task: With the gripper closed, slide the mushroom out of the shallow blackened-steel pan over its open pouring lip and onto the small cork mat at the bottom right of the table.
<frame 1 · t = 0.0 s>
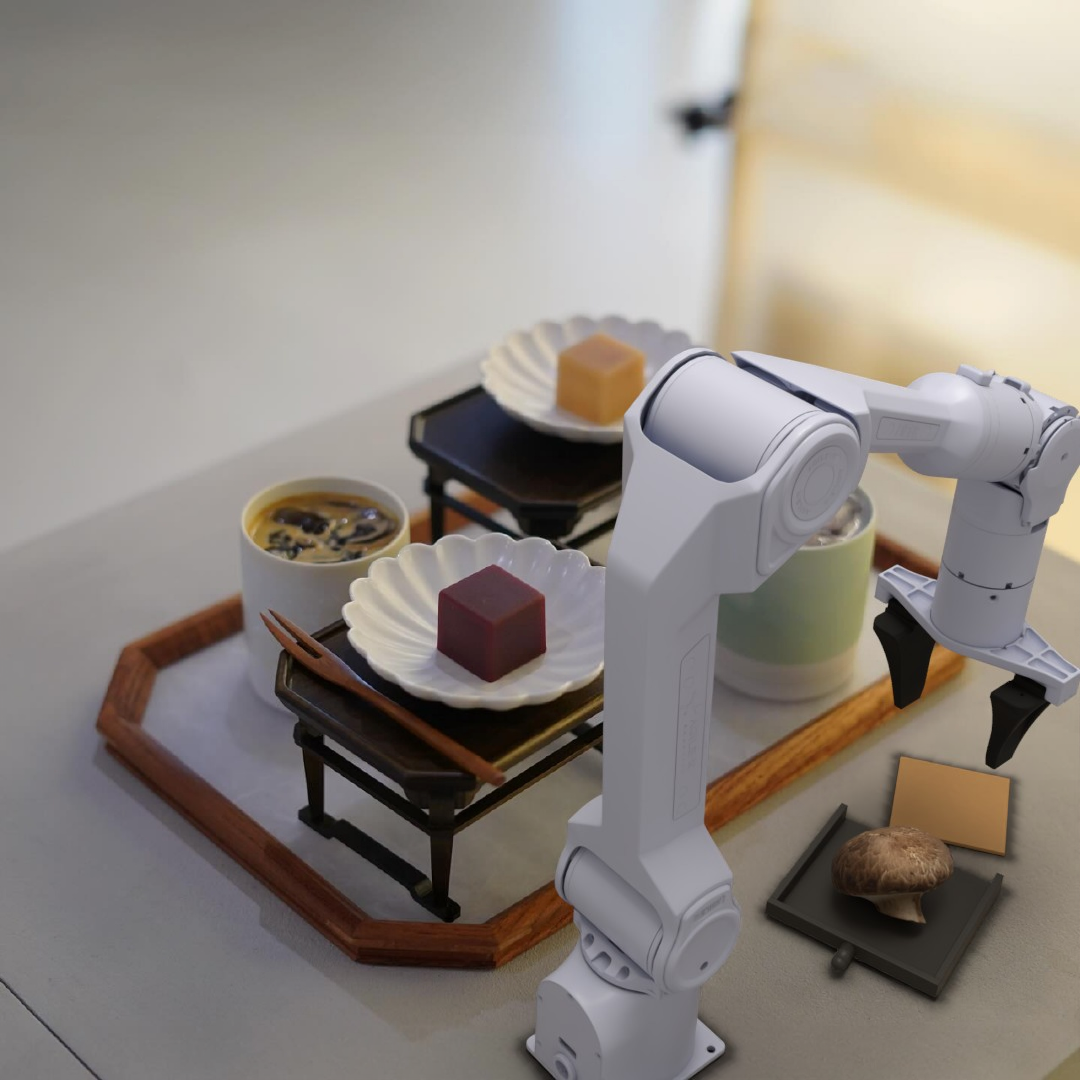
hand: (951, 730, 102), 10 cm above the table, tool pointing down, fingers open, 7 cm apart
mushroom: (885, 900, 102), resting on pan
pan: (884, 902, 102), on the table
mat: (950, 805, 110), on the table
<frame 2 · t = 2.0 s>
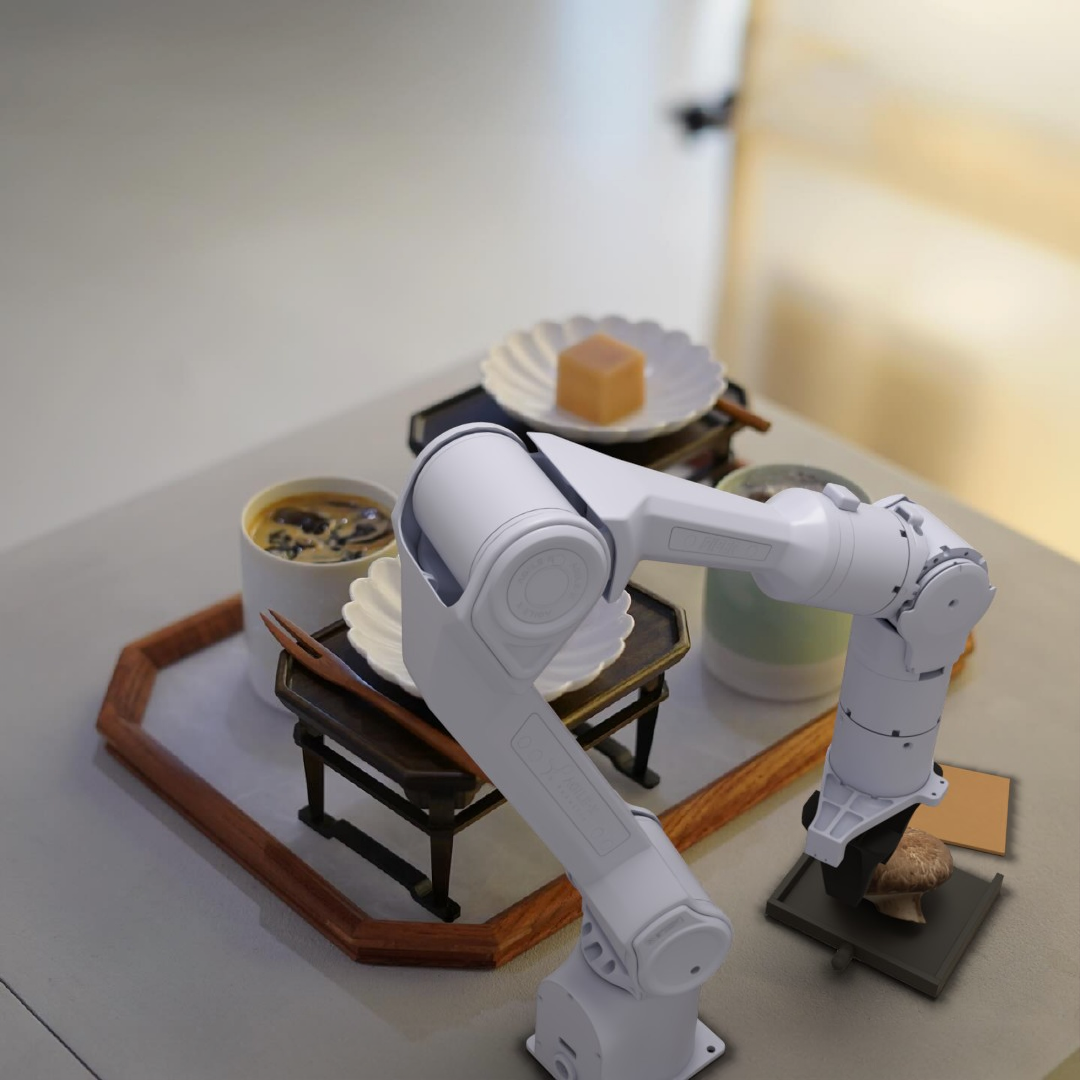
hand: (857, 875, 93), 8 cm above the table, tool pointing down, fingers open, 4 cm apart
nothing on the table moved.
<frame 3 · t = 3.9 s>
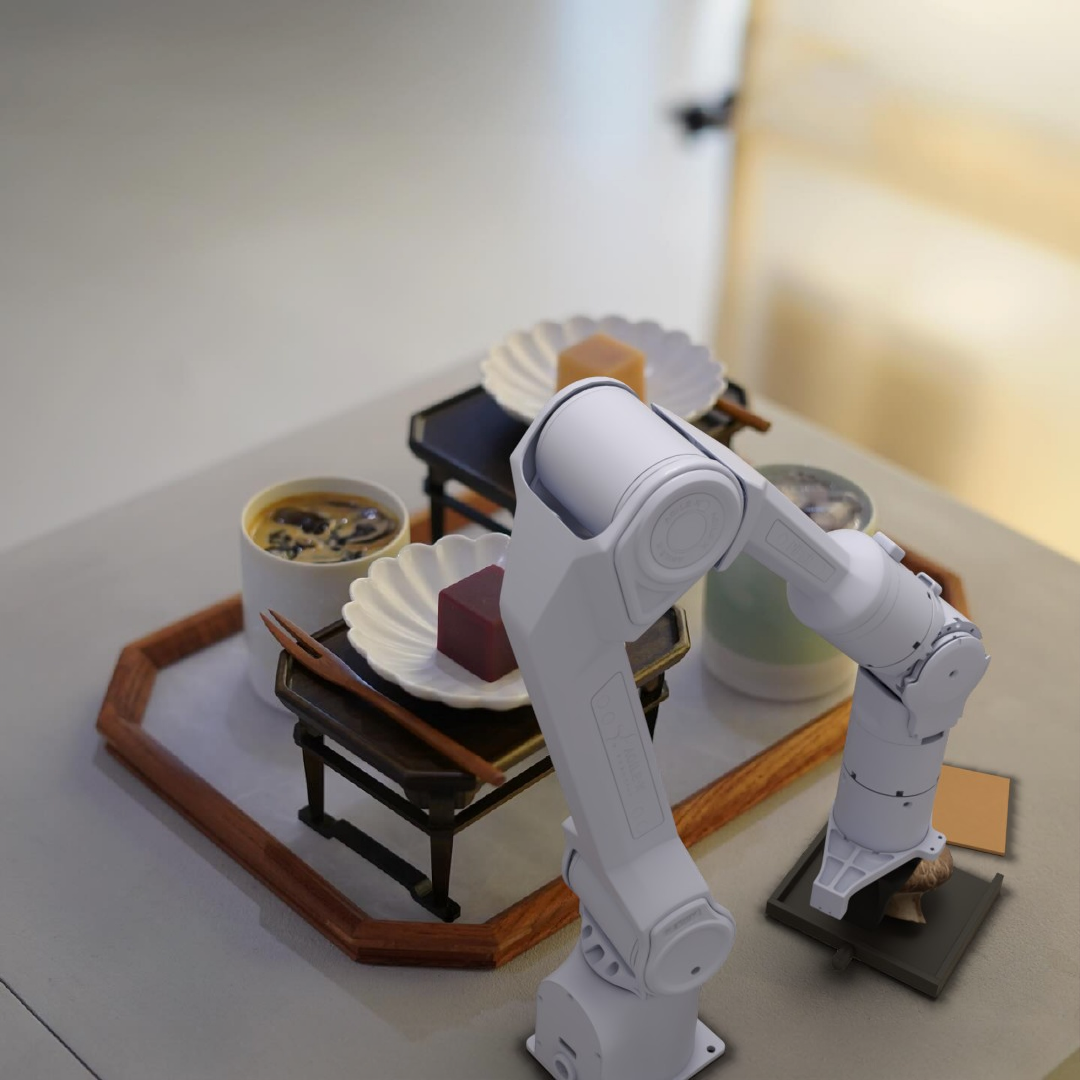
hand: (860, 922, 98), 2 cm above the table, tool pointing down, fingers closed
mushroom: (885, 900, 102), resting on pan, touching gripper
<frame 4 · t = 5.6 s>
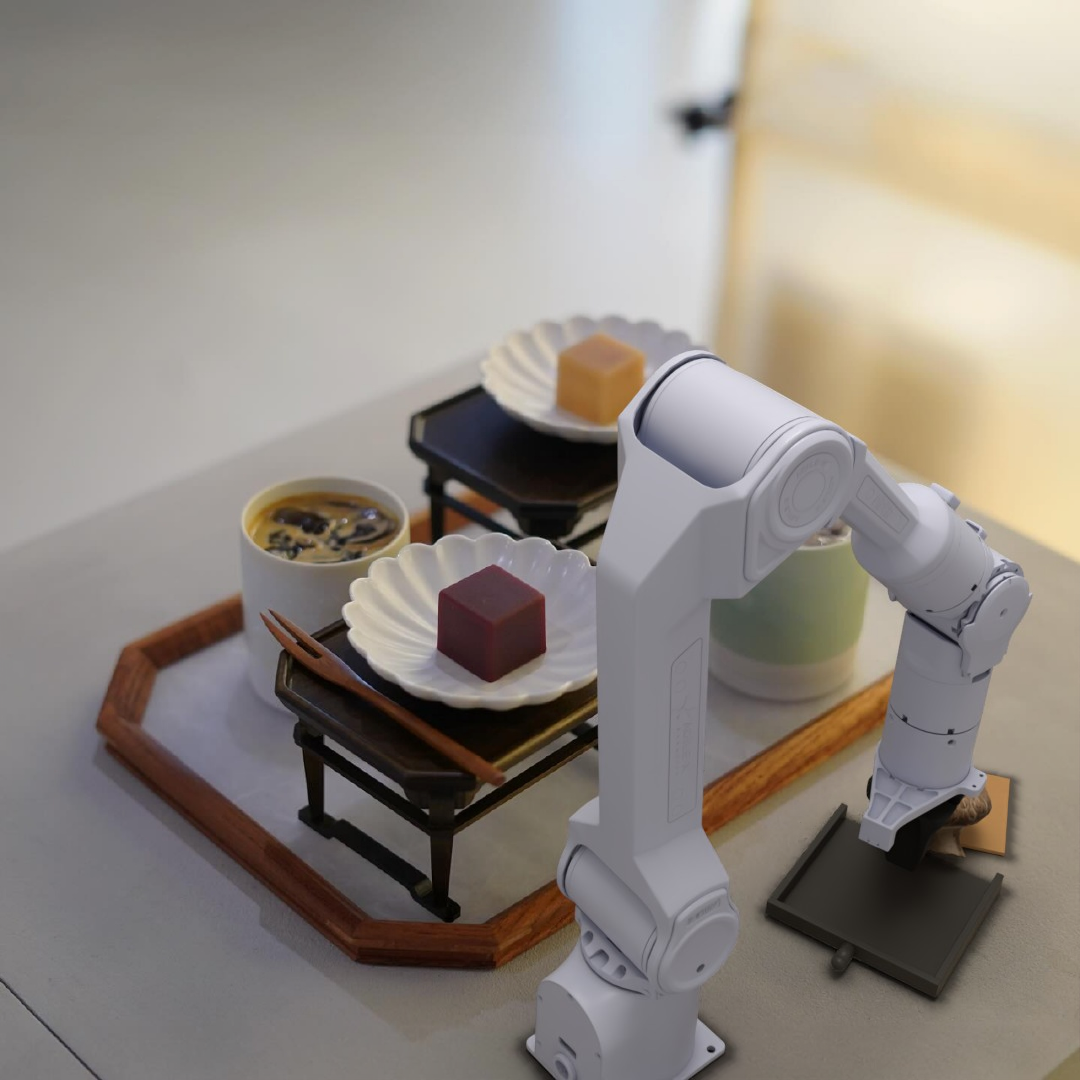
hand: (902, 860, 103), 2 cm above the table, tool pointing down, fingers closed, pressing on mushroom
mushroom: (925, 838, 107), on the table, touching gripper, mat
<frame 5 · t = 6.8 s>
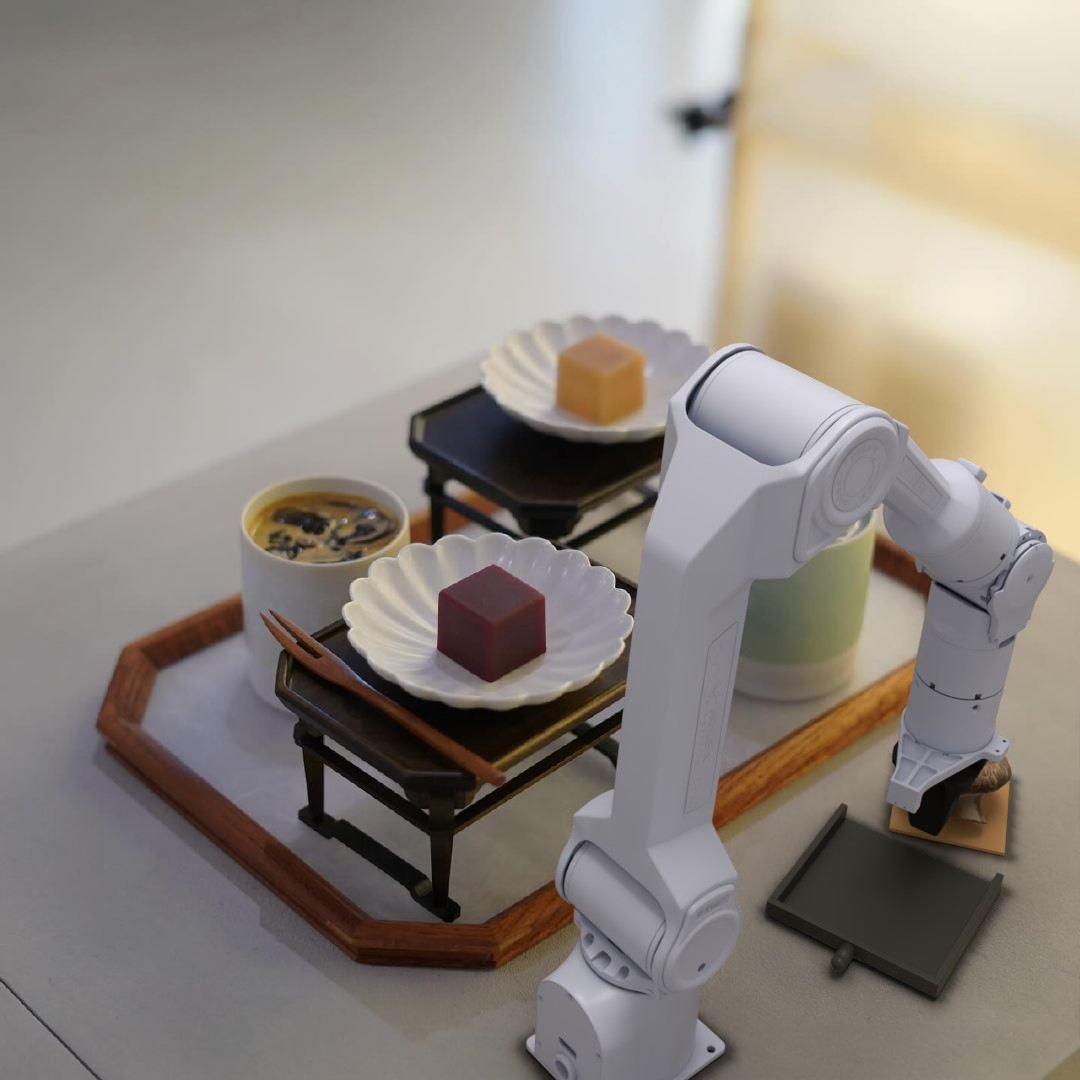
hand: (926, 826, 105), 2 cm above the table, tool pointing down, fingers closed
mushroom: (946, 805, 110), resting on mat, touching gripper
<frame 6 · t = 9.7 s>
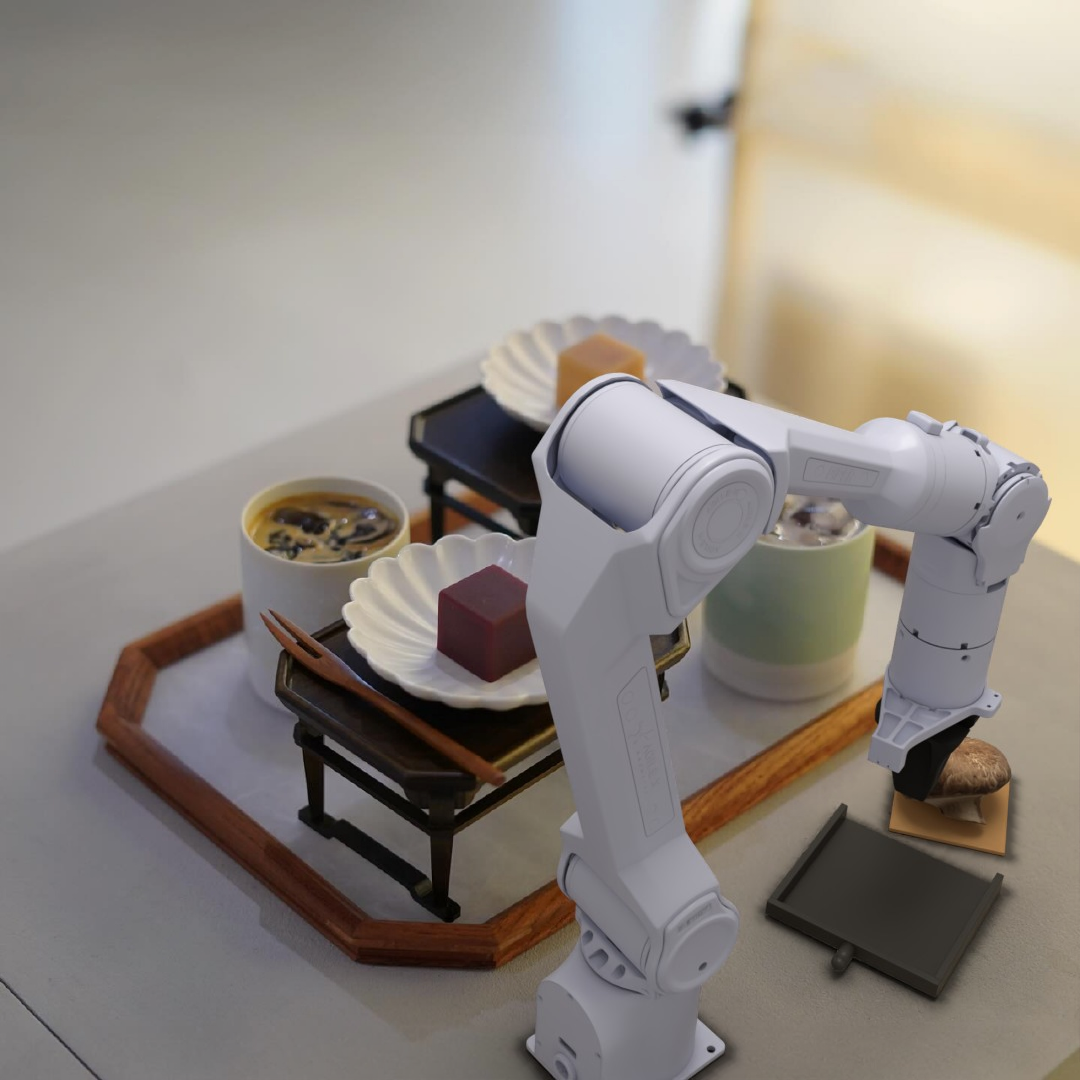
hand: (912, 790, 98), 9 cm above the table, tool pointing down, fingers closed
mushroom: (946, 806, 110), resting on mat
at the end: mushroom inside the target area (0.3 cm from its centre), resting on mat; mushroom moved 11.2 cm from its start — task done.
